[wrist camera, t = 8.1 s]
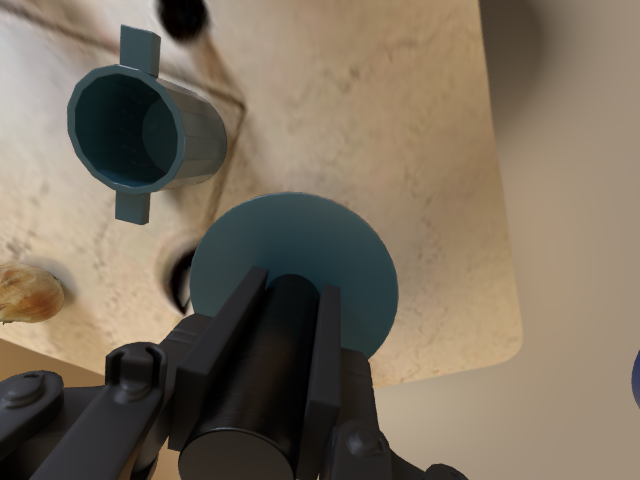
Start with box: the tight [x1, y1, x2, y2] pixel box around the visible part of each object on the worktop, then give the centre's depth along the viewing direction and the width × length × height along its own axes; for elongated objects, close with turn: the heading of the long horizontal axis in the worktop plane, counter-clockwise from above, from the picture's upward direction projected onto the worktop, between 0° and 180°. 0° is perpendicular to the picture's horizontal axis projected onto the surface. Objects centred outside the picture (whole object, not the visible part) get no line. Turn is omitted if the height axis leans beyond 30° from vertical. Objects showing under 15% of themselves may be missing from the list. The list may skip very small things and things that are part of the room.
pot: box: [67, 25, 227, 225], centre depth 26 cm, size 9×15×8 cm, turn 167°
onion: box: [0, 263, 64, 325], centre depth 33 cm, size 8×8×8 cm
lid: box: [178, 192, 399, 480], centre depth 11 cm, size 10×10×9 cm
